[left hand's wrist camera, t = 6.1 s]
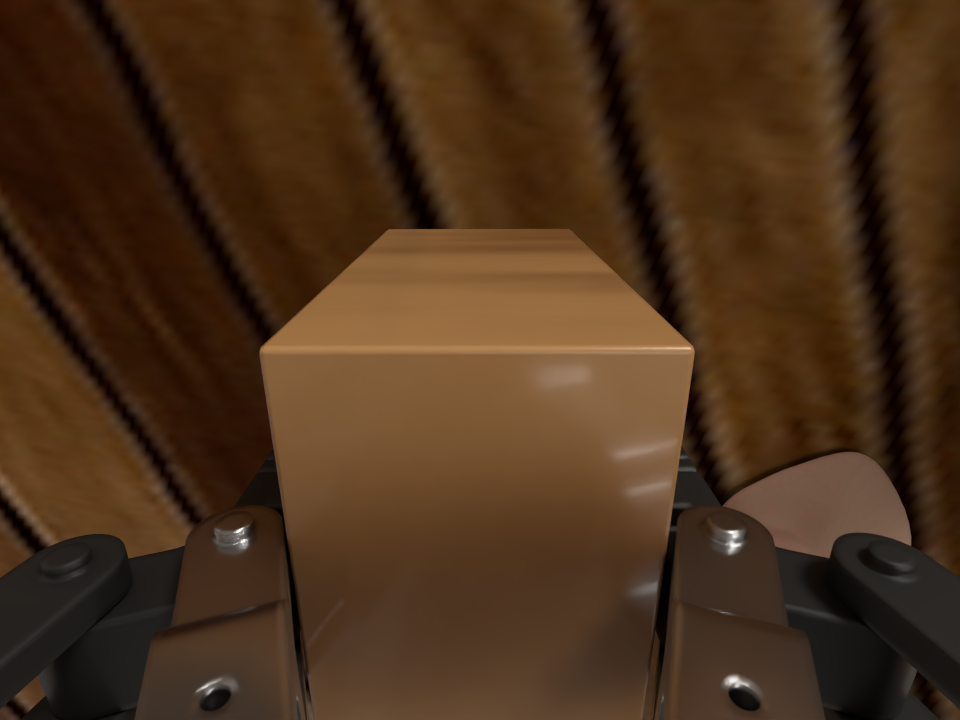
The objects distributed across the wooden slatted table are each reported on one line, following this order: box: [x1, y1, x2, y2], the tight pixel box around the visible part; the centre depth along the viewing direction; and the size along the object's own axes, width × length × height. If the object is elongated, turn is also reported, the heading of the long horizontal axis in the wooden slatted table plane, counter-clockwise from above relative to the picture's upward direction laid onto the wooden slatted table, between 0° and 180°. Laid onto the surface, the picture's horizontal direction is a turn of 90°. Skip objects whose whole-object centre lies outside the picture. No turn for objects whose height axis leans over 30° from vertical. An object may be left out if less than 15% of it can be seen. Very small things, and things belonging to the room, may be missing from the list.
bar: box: [259, 229, 695, 720], centre depth 15 cm, size 24×5×10 cm, turn 0°
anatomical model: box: [723, 452, 911, 558], centre depth 27 cm, size 13×4×12 cm
